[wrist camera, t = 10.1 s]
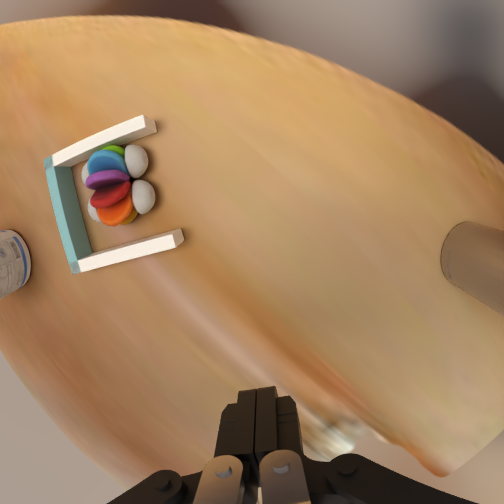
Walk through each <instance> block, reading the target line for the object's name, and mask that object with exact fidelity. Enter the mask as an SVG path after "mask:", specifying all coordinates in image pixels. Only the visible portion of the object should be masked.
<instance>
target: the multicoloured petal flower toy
mask: <svg viewBox="0 0 504 504" xmlns="http://www.w3.org/2000/svg"><path fill="white" fill-rule="evenodd" d="M147 167H148V157H147V154H146V152H145V150H144V149H143V148H141V147H140V146H138V145H128V146H127V147H126V149H123V148H122V147H120V146H117V145H109V146H106V147H104V148H103V149H102V150H98V151H96V152H94V153H93V154H92V155H91V156H90V158H89V160H88V161H87V163H86V164H85V165H84V167H83V169H82V181H83V183H84V184H85V186H86V187H88V188H89V189H91V190H95V192H94V193H93V194H92V196H91V197H90V199H89V201H88V212H89V214H90V216H91V217H92V219H94V220H95V221H97V222H100V223H104V224H106V225H109V226H117V225H125V224H128V223H130V222H131V221H133V220H134V218H135V217H136V215H137V213H140V214H145V213H147V212H148V211H149V210H150V209H151V208H152V207H153V205H154V203H155V192H154V189H153V187H152V186H151V185H150V184H149V183H148V182H146V181H144V180H135V181H134V183H133V184H132V185H131V183H130V182H129V180H130V178H129V177H131V176H132V177H133V178H139V177H140V176H141V175H142V174H143V173H144V172H145V171H146V169H147Z"/></svg>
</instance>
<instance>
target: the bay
mask: <svg viewBox="0 0 504 504" xmlns="http://www.w3.org/2000/svg"><path fill="white" fill-rule="evenodd" d="M156 132H157V129H156V125H155V121H154V120H152V119H150V118H148V117H147V116H145V115H141V116H138V117H135V118H133V119H130V120H128V121H125V122H123V123H120V124H118V125H115V126H113V127H110V128H108V129H106V130H103V131H101V132H99V133H97V134H94V135H92V136H90V137H88V138H86V139H83V140H81V141H79V142H77V143H75V144H73V145H71V146H69V147H67V148H65V149H63V150H61V151H59V152H57V153H55V154H53V155H51V156H49V157H48V158H46V159H44V165H45V171H46V176H47V181H48V186H49V191H50V195H51V200H52V204H53V209H54V213H55V217H56V221H57V224H58V228H59V232H60V235H61V239H62V243H63V246H64V249H65V253H66V256H67V259H68V262H69V265H70V268H71V271H72V274H77V273H81V272H84V271H88V270H92V269H95V268H99V267H103V266H107V265H110V264H114V263H118V262H122V261H126V260H129V259H133V258H137V257H141V256H145V255H149V254H153V253H156V252H160V251H164V250H168V249H172V248H176V247H177V246H178V245H180V244H181V243H182V242H183V241H184V237H183V234H182V230H181V228H180V229H177V230H173V231H169V232H165V233H162V234H158V235H154V236H151V237H147V238H143V239H140V240H136V241H133V242H129V243H126V244H122V245H119V246H115V247H112V248H108V249H105V250H101V251H98V252H95V253H93V252H92V249H91V246H90V242H89V239H88V235H87V232H86V228H85V225H84V221H83V217H82V213H81V209H80V205H79V201H78V197H77V193H76V189H75V184H74V179H73V175H72V170H71V166H74V165H76V164H78V163H80V162H82V161H85V160H87V159H89V158H90V156H91V155H92V154H93V153H94V152H96V151H98V150H102V149H103V148H104V147H106V146H109V145H117V146H121V145H123V144H126V143H129V142H131V141H134V140H137V139H139V138H142V137H145V136H148V135H150V134H153V133H156Z"/></svg>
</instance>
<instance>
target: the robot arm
mask: <svg viewBox="0 0 504 504" xmlns="http://www.w3.org/2000/svg"><path fill="white" fill-rule="evenodd" d="M441 265H442V270H443V273H444V275H445V277H446V279H447V280H449V281H450V282H451V283H452V284H454V285H456V286H457V287H459V288H461V289H462V290H464V291H465V292H467V293H468V294H470V295H472V296H473V297H475V298H476V299H478V300H479V301H481V302H483V303H484V304H486V305H487V306H489V307H490V308H492V309H493V310H495V311H496V312H498V313H499V314H501V315H502V316H504V232H503V231H500V230H497V229H493V228H490V227H486V226H483V225H479V224H475V223H472V222H464V223H461V224H459V225H457V226H456V227H455V228H453V229H452V230H451V232H450V233H449V234H448V236H447V238H446V240H445V242H444V245H443V248H442V253H441ZM259 487H261V494H262V504H478V503H475V502H472V501H469V500H466V499H463V498H459V497H457V496H454V495H451V494H448V493H445V492H443V491H440V490H437V489H435V488H432V487H430V486H427V485H425V484H422V483H419V482H417V481H415V480H413V479H410V478H408V477H405V476H403V475H401V474H399V473H396V472H394V471H392V470H390V469H387V468H386V467H383V466H381V465H379V464H377V463H375V462H373V461H371V460H369V459H367V458H365V457H363V456H361V455H358V454H352V453H350V454H343V455H340V456H337V457H336V458H334V459H333V460H331V461H330V462H320V461H315V460H312V459H309V458H308V457H306V456H305V455H304V454H303V445H302V437H301V429H300V423H299V418H298V413H297V408H296V403H295V402H294V400H293V399H292V398H291V397H290V396H284V397H278V394H277V390H276V387H275V386H271V387H265V388H258V389H252V390H244V391H239V393H238V400H237V403H234V404H228V405H227V406H226V408H225V409H224V410H223V412H222V415H221V420H220V426H219V431H218V437H217V443H216V448H215V454H214V458H213V459H211V460H210V461H209V462H208V463H207V464H206V465H205V466H204V469H203V471H200V472H198V473H195V474H191V475H187V476H182V477H180V475H179V474H178V473H176V472H175V471H172V470H161V471H157V472H155V473H153V474H152V475H150V476H149V477H147V478H146V479H145V480H143V481H142V482H140V483H139V484H137V485H136V486H134V487H133V488H131V489H129V490H128V491H126V492H125V493H123V494H122V495H120V496H118V497H117V498H115V499H114V500H112V501H110V502H109V503H107V504H259V499H258V488H259Z"/></svg>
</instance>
